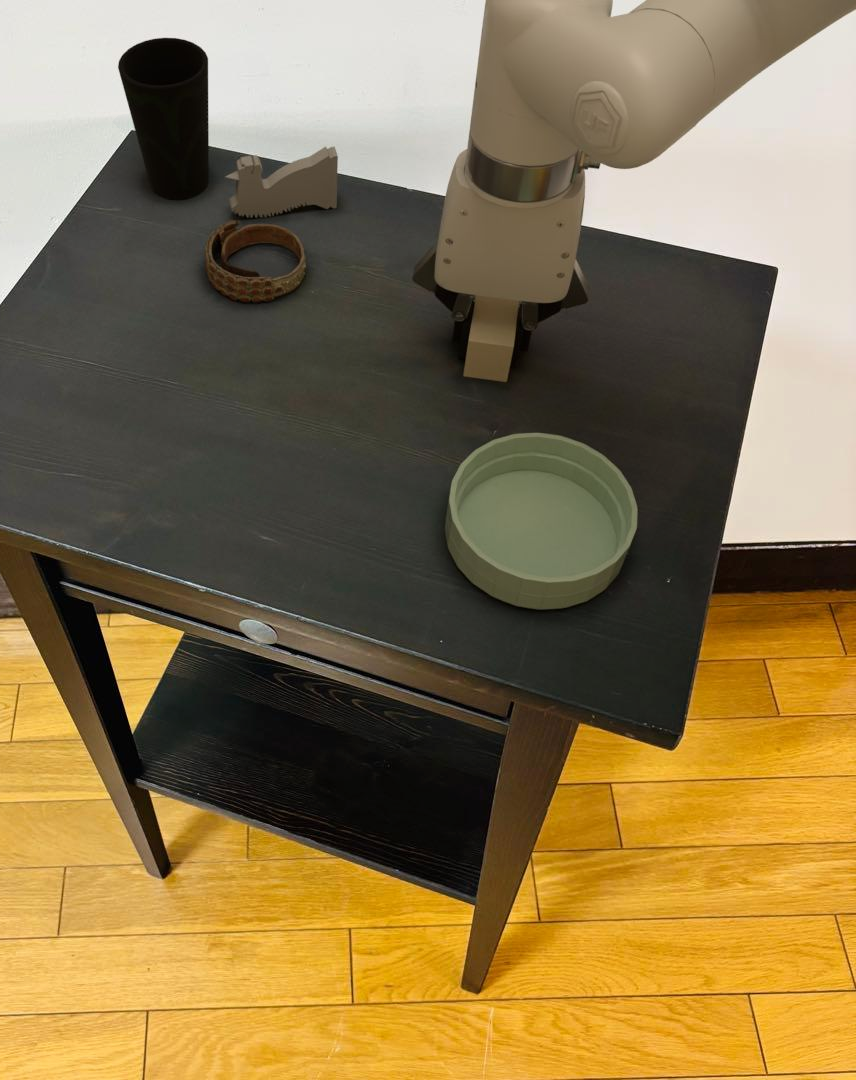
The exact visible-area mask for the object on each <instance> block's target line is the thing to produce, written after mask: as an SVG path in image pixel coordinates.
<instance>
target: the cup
mask: <svg viewBox="0 0 856 1080" xmlns="http://www.w3.org/2000/svg"><path fill="white" fill-rule="evenodd" d="M117 70H118V73H119V76H120V79H121V84H122V88H123V91H124V95H125V98H126V103H127V105H128V109H129V113H130V116H131V117H130V118H131V120H132V123H133V124H132V125H133V128H134V131H135V135H136V138H137V143H138V144H139V149H140V153H141V156H142V161H143V164H144V167H145V171H146V174H147V179H148V182H149V186H150V189H151V190H152V192H153V193H154V194H155V195H157V196H158V197H161V198H163V199H166V200H171V201H181V200H182V201H183V200H188V199H192V198H194V197H197V196H198V195H201V194H202V193H203V192H204V191H205V190H206V189H207V187H208V186H209V182H210V181H209V180H210V177H209V176H210V162H209V160H210V155H209V154H210V151H209V149H210V147H209V145H210V144H209V143H210V140H209V137H210V136H209V135H210V133H209V57H208V55H207V52H206V51H205V50H204V49H203V48H202V47H201V46H199V45H198V44H197V43H194V42H192V41H189V40H186V39H184V38H176V37H158V38H152V39H147V40H144V41H141V42H138V43H136V44H135V45H133V46H131V47H129V48H128V49H127V50H125V52H124V53H122V55H121V57H120V58H119V60H118V64H117Z"/></svg>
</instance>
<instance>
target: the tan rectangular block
mask: <svg viewBox="0 0 856 1080" xmlns="http://www.w3.org/2000/svg"><path fill="white" fill-rule="evenodd" d="M474 302H475V304H474V310H473V316H472V322H471V329H470V335H469V341H468V348H467V354H466V358H465V362H464V367H463V373H462V374H463V376H462V377H464V378H465V377H466V378H473V379H480V380H481V379H482V380H487V381H488V380H489V381H495V382H502V383H507V382H508V378H509V372H510V369H511V368H510V367H511V366H510V363H511V358H512V353H513V348H514V341H515V333H516V325H517V318H518V310H519V307H520V303H521V301H518V300H509V299H501V298H493V297H486V296H478V295H475V298H474Z"/></svg>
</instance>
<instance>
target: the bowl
mask: <svg viewBox="0 0 856 1080" xmlns="http://www.w3.org/2000/svg"><path fill="white" fill-rule="evenodd" d="M449 490H450V491H449V496H448V504H447V509H446V515H445V523H444V533H445V539H446V544H447V549H448V551H449V553H450V555H451V557H452V559H453V561H454V563H455V564H456V566H457V569H459V570H460V571H461V573H463V575H464V576H465V577H466V578H467V579H468V581H469V582H471V583H472V584H473V585H475V587H477V588H479V589H480V590H482V591H483V592H485V593H487V594H488V595H489V596H491V597H492V598H495V599H497V600H500V601H501V602H503V603H507V604H510V605H513V606H515V607H519V608H520V607H521V608H526V609H532V610H538V611H539V610H542V611H543V610H556V609H564V608H565V609H566V608H570V607H573V606H577V605H579V604H582V603H586V602H588V601H589V600H591V599H593V598H595V597H596V596H598V595H599V594H600V593H602V592H603V591H605V590H606V589H607V588H608V587H609V586H610V585H611V583H612V582H613V581H614V580H615V579H616V577H618V575H619V573H620V571H621V569H622V567H623V564H624V562H625V559H626V556H627V555H628V552H629V549H630V547H631V544H632V541H633V539H634V537H635V534H636V531H637V530H638V512H639V511H638V505H637V501H636V498H635V495H634V492H633V488H632V487H631V485H630V483H629V481H628V480H627V478H626V477H625V476H624V474H623V473H622V471H621V470H620V469H619V468H618V467H617V466H616V465H615V464H614V463H613V462H611V460H609V458H608V457H606V456H605V455H604V454H603V453H600V452H599V451H597V450H595V449H594V448H592V447H590V446H589V445H587V444H585V443H583V442H580V441H577V440H576V439H575V440H574V439H572V438H569V437H567V436H564V435H558V434H551V433H544V432H525V433H513V434H508V435H506V436H502V437H499V438H495V439H492V440H490V441H489V442H487V443H485V444H483V445H481V446H480V447H478V448H476V449H475V450H474V451H472V452H471V453H470V454H469V455H468V456H467V457H466V458H465V459H464V460H463V461H462V462H461V463H460V465H459V466H458V469H457V470H456V472H455V474H454V476H453V477H452V480H451V483H450V489H449Z"/></svg>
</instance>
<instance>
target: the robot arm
mask: <svg viewBox="0 0 856 1080" xmlns="http://www.w3.org/2000/svg"><path fill="white" fill-rule="evenodd" d="M613 3H614V0H485V2H484V9H483V10H484V11H483V16H482V17H483V18H482V26H481V34H480V35H481V36H480V41H479V49H478V50H479V52H478V58H477V67H476V74H475V82H474V91H473V99H472V107H471V115H470V123H469V131H468V140H467V146H466V147H467V148H466V149H464V150H462V151H461V152H460V153H459V154H458V155H457V157H456V159H455V162H454V164H453V167H452V170H451V173H450V176H449V179H448V183H447V187H446V192H445V197H444V202H443V207H442V213H441V219H440V225H439V232H438V239H437V241H436V242H435V244H433V245H432V247H431V248H430V249H429V250H428V251H427V252H426V253H425V255H423V257H422V258H421V259H420V260H419V261H418V262H417V263H415V264H416V265H414V268H413V272H412V277H411V278H412V281H413V282H414V284H416V285H418V286H420V287H421V288H423V289H424V290H426V291H428V292H430V293H434V296H435V298H436V299H437V300H438V301H439V302H440V303H441V304H443V305H444V306H445V308H447V309H448V310H449V312H451V315H450V316H451V319H452V320H454V323H453V330H452V338H451V343H453V344H454V343H455V344H459V350H458V355H457V359H459V360H465V359H466V354H467V348H468V341H469V335H470V329H471V322H472V316H473V310H474V304H475V298H474V296H476V295H478V296H486V297H493V298H501V299H509V300H518V301H520V302H519V310H518V318H517V325H516V333H515V341H514V348H513V353H512V358H511V363H510V367H511V366H512V367H517V365H518V359H519V355H520V352H522V353H523V352H524V353H528V352H529V349H530V348H529V347H530V342H531V338H532V332H533V331H535V330H536V329H537V328H538V325H539V324H540V323H542V322H543V321H545V320H547V319H549V318H551V317H553V316H555V315H557V314H559V313H560V312H561V310H563V309H565V310H568V309H571V308H574V307H578V306H582V305H586V304H587V303H588V302H589V298H590V286H589V284H588V281H587V279H586V278H585V275H584V273H583V271H582V269H581V266H580V264H579V263H578V260H577V253H578V247H579V241H580V236H581V230H582V224H583V218H584V217H583V216H584V207H585V199H586V172H585V170H586V171H588V170H589V169H595V170H599V169H600V167H601V164H602V165H604V166H606V167H610V168H613V169H618V170H631V169H635V168H639V167H642V166H644V165H647V164H649V163H651V162H652V161H654V160H656V159H657V158H658V157H660V156H661V155H663V153H665V152H666V151H667V150H668V149H670V148H671V147H672V146H673V145H675V144H676V143H677V142H678V141H680V140H681V139H682V138H683V137H684V136H685V135H687V134H688V133H689V132H690V131H691V130H692V129H694V128H696V126H697V125H698V123H699V122H701V121H702V120H703V119H704V118H705V117H707V115H709V114H711V112H713V111H714V110H715V109H716V108H718V107H719V106H720V105H721V104H722V103H723V102H725V101H726V100H728V98H730V97H731V96H732V95H733V94H735V93H737V91H739V90H740V89H741V88H742V87H744V86H745V85H746V84H747V83H749V82H750V81H751V80H753V79H754V78H755V77H757V76H758V75H759V74H761V73H763V71H765V70H766V69H768V68H769V67H770V66H772V65H774V64H775V63H776V62H777V61H780V60H781V59H782V58H784V57H785V56H786V55H788V54H790V53H791V52H792V51H794V50H796V49H797V48H799V47H800V46H801V45H803V44H804V43H806V42H807V41H809V40H810V39H811V38H813V37H814V36H816V35H818V34H820V33H821V32H823V31H824V30H825V29H827V28H828V27H830V26H832V24H835V23H836V22H838V21H839V20H841V19H842V18H844V17H845V16H847V15H849V14H851V13H852V12H855V11H856V0H644V1H642V2H641V3H640V4H639V5H637V6H636V7H635V8H634V9H632V10H631V11H629V12H627V13H624V14H619V15H614V16H612V13H613V12H612V11H613Z"/></svg>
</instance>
